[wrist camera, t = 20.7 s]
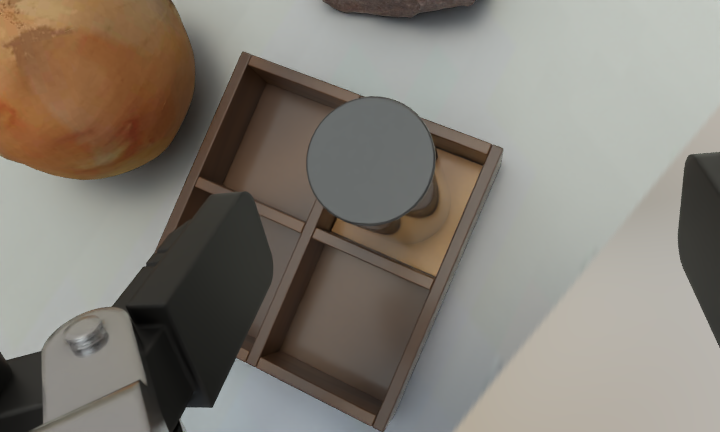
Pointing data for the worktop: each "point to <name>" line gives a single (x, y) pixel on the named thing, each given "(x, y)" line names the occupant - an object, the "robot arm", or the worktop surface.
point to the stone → (395, 6)
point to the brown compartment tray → (331, 245)
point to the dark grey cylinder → (379, 170)
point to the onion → (91, 84)
